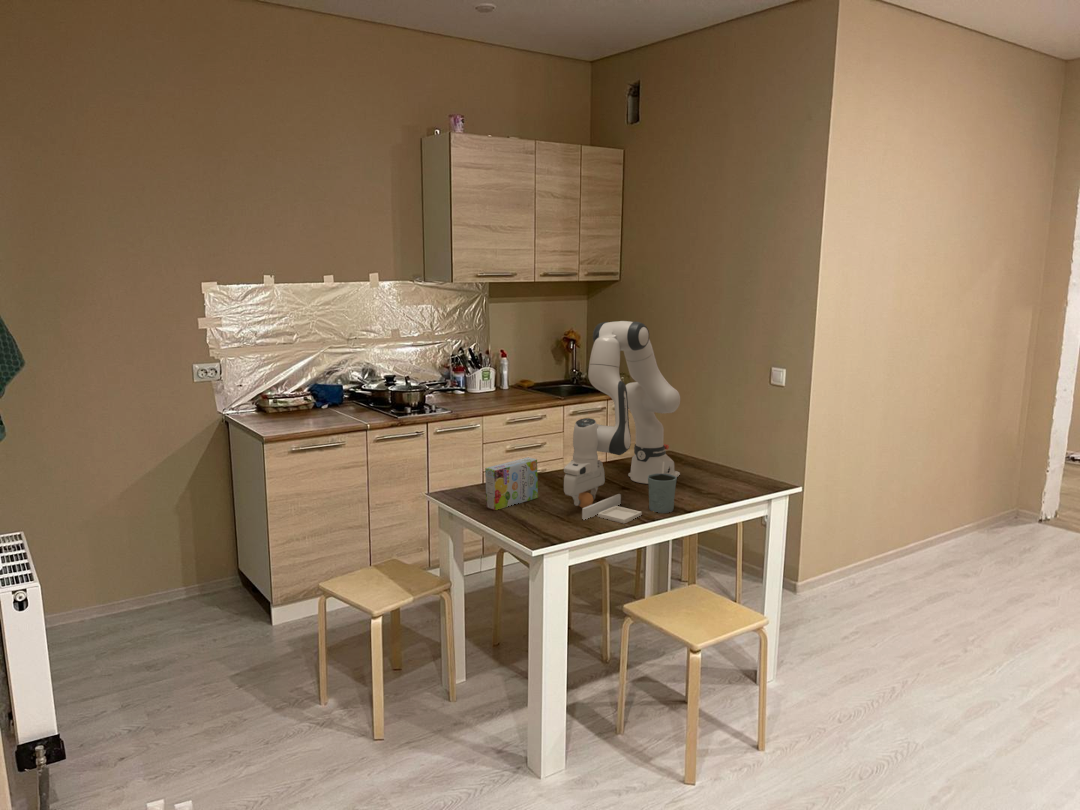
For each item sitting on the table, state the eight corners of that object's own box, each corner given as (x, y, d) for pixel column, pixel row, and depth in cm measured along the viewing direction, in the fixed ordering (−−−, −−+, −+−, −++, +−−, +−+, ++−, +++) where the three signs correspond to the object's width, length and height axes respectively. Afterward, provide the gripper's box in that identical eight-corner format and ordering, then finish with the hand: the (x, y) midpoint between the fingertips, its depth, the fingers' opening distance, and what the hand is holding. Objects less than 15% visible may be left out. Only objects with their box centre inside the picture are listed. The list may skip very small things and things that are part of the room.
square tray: (615, 509, 287) (615, 505, 287) (641, 515, 280) (641, 511, 280) (597, 517, 279) (597, 513, 279) (624, 523, 272) (624, 519, 272)
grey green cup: (650, 514, 282) (651, 481, 280) (644, 505, 292) (645, 473, 290) (678, 513, 283) (679, 480, 281) (671, 504, 293) (672, 472, 291)
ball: (583, 504, 293) (583, 488, 292) (596, 507, 290) (596, 491, 288) (573, 508, 289) (573, 492, 288) (586, 511, 285) (586, 495, 284)
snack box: (528, 495, 304) (527, 456, 301) (538, 498, 300) (538, 459, 298) (485, 507, 290) (484, 467, 287) (495, 511, 286) (495, 470, 283)
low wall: (618, 504, 293) (618, 493, 292) (620, 504, 292) (620, 494, 292) (582, 519, 276) (582, 508, 276) (584, 520, 276) (584, 509, 275)
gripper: (595, 457, 296) (594, 493, 299) (560, 469, 281) (560, 507, 283) (609, 460, 292) (608, 497, 295) (575, 472, 277) (574, 510, 279)
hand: (584, 502), depth 289 cm, fingers open, 8 cm apart
